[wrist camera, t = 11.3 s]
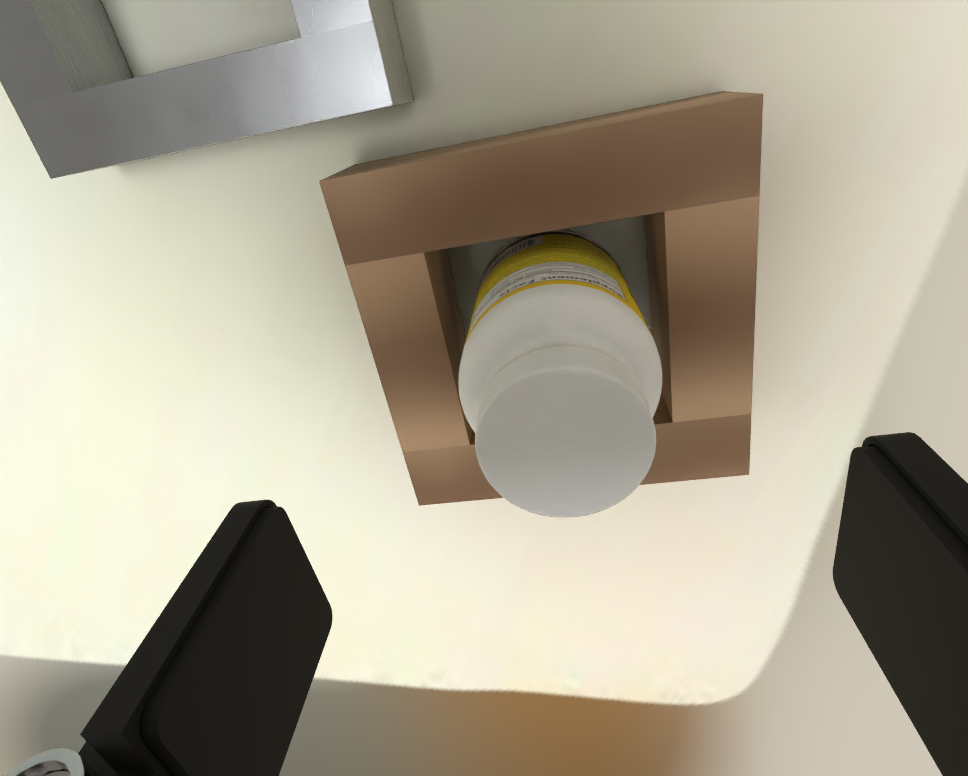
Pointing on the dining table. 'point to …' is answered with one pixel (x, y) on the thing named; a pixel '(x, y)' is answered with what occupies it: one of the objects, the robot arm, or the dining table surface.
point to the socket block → (188, 82)
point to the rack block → (552, 206)
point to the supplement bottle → (560, 377)
